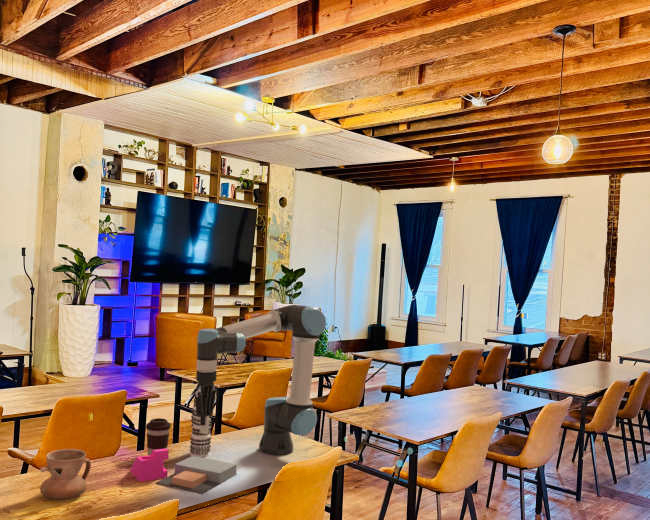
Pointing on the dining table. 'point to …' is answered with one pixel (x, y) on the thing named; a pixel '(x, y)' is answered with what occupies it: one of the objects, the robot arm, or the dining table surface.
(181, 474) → the coaster
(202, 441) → the decorative candle
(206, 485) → the mat
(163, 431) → the coffee cup
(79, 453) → the ceramic jug
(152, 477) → the bracket
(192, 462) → the board
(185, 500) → the dining table surface
